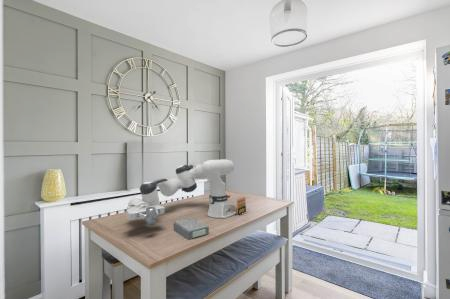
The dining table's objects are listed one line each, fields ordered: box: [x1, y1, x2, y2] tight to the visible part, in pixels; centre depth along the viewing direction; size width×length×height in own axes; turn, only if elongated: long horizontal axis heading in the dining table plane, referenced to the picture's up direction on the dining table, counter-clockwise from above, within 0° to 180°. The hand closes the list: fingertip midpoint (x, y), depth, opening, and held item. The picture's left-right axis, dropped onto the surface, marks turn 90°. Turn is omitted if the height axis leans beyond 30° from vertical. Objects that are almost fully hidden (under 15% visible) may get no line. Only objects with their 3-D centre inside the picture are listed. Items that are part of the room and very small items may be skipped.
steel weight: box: [145, 207, 157, 227], centre depth 126 cm, size 5×5×9 cm
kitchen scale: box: [172, 217, 210, 240], centre depth 133 cm, size 13×18×5 cm
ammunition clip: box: [235, 196, 247, 216], centre depth 168 cm, size 11×2×12 cm, turn 143°
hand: (151, 215), depth 126 cm, fingers closed on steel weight, 5 cm apart
